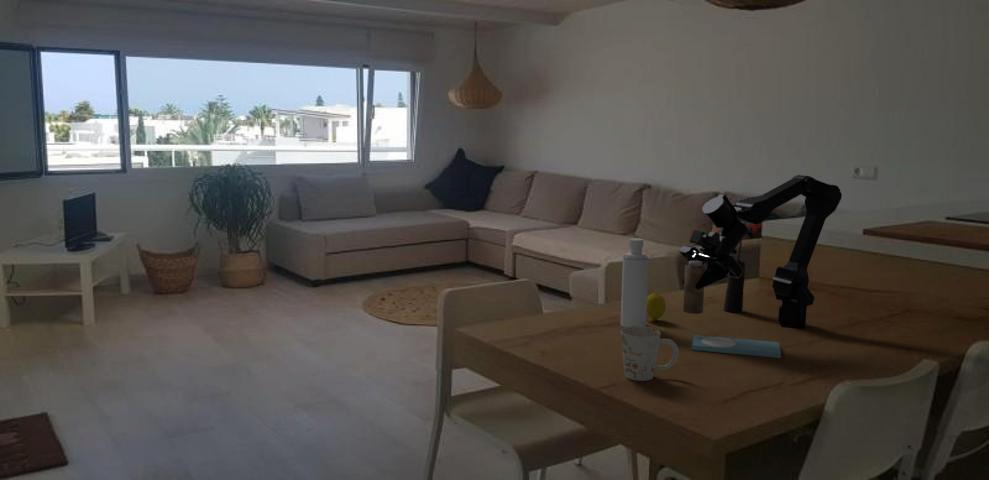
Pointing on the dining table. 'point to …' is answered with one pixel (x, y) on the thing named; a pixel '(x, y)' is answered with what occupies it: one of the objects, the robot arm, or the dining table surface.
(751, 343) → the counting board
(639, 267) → the white bottle
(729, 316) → the dining table surface
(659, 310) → the lemon
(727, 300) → the butter churn
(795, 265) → the robot arm
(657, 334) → the mug
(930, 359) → the dining table surface
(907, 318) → the dining table surface
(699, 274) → the pepper mill
